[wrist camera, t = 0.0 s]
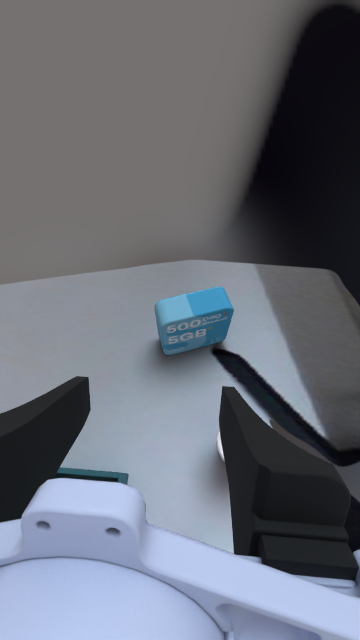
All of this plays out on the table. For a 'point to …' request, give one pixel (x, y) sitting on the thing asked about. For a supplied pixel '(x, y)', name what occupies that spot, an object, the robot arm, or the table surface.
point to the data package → (193, 320)
